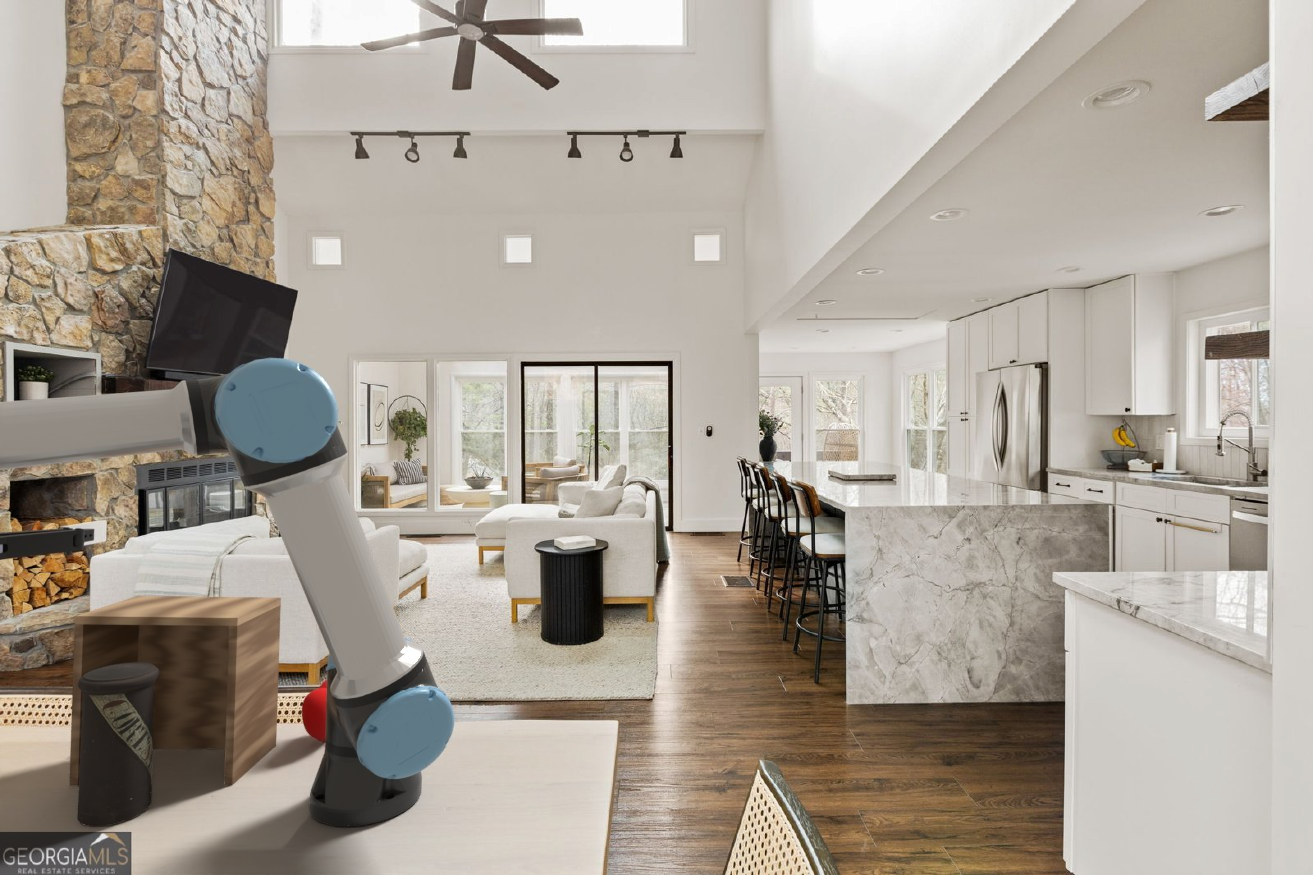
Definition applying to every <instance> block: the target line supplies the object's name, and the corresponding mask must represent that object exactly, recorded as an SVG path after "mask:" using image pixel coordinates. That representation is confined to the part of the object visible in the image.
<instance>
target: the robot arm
mask: <svg viewBox="0 0 1313 875" xmlns="http://www.w3.org/2000/svg"><path fill="white" fill-rule="evenodd" d="M338 409H339V408H338V404H337V399H336V397H335V394H334V392H333V389H332V388H331V386H330V384H329V383H328V382H327V380H326V379H324V377H323V376H322V375H320V374H319V373H318V372H317V371H316V370H314V369H312V368H311V367H309V366H307V365H306V364H304V363H301V362H298V361H295V360H290V359H287V358H283V357H278V358H277V357H267V358H260V359H253V360H252V361H249V362H247V363H243V364H241V365H238V366H237V367H235V368H234V369H232V371H231V372H229V373H226V374H223V375H219V376H214V377H208V378H202V379H201V378H200V379H185V380H181V381H180V382H179V383H177V385H176V386H174V388H171V389H160V390H147V391H146V390H144V391H134V392H133V391H132V392H131V391H130V392H122V393H121V392H120V393H117V392H116V393H107V394H92V395H90V394H89V395H77V396H65V397H64V396H63V397H50V398H38V399H37V398H36V399H24V400H8V401H0V471H2V470H11V469H19V468H21V469H22V468H29V467H30V468H31V467H38V466H46V465H54V464H65V463H72V462H82V461H93V460H99V459H109V458H115V457H116V458H119V457H127V456H135V455H145V454H152V453H153V454H154V453H161V452H170V451H171V452H172V451H181V450H182V451H185V452H187V453H189V454H190V455H192V456H193V457H197V456H203V455H204V456H206V455H215V454H230V456H231V459H232V462H233V464H234V465H235V467H236V471H237V473H238V475H239V477H240V480H241V483H242V485H243V486H244V487H243V488H244V489H245V490H247V491H250V492H253V493H256V494H258V495H260V496H262V497H263V498H265V500H266V503H267V506H268V509H269V510H270V512H271V515H272V517H273V520H274V523H275V526H276V528H277V530H278V532H279V534H280V537H281V539H282V543H283V544H284V547H285V549H286V551H287V555H288V556H289V559H290V561H291V564H292V566H293V569H294V571H295V573H296V575H297V578H298V580H299V582H300V585H301V588H302V590H303V592H304V594H305V597H306V599H307V603H308V604H309V607H310V609H311V612H312V614H313V616H314V619H315V621H316V623H317V626H318V628H319V632H320V633H321V636H322V638H323V640H324V644H325V645H326V648H327V650H328V652H329V653H328V655H327V656H328V658H327V664H326V665H327V666H326V667H325V672H326V680H327V697H326V732H325V741H324V754H323V755H322V758H321V761H320V764H319V767H318V769H317V773H316V775H315V778H314V779H313V780H314V781H313V782H312V785H311V789H310V792H309V793H310V794H309V814H310V815H311V816H312V818H313V819H314V820H316V821H318V822H319V823H322V824H325V825H329V826H335V827H359V826H360V827H361V826H368V825H372V824H376V823H380V822H383V821H386V820H388V819H389V820H390V819H392V818H394V817H396V816H398V815H400V814H402V813H403V812H406V811H407V810H408V809H410V808H411V807H412V806H413V805H414V804H416V803H417V802H418V800H419V799H420V797H421V795H422V791H423V790H422V788H423V787H422V786H423V784H422V783H423V775H422V772H423V770H425V769H427V768H428V767H429V766H430V765H432V764H433V763H434V762H435V761H437V759H438V758H439V757H440V756H441V754H442V753H443V752H444V751H445V749H446V748H447V744H448V743H449V740H450V739H451V737H452V735H453V732H454V728H455V721H456V720H455V711H454V708H453V705H452V703H451V700H450V697H449V696H447V694H446V692H444V691H443V690H442V689H441V688H439V686H438V685H437V682H436V680H435V677H434V675H433V671H432V669H431V667H430V664H429V662H428V659H427V657H426V654H425V652H424V649H423V647H422V646H421V644H419V643H416V642H413V640H411V639H410V638H408V637H405V635H404V633H403V629H402V627H401V624H400V621H399V618H398V616H397V614H396V611H395V609H394V607H393V604H392V601H391V599H390V596H389V594H388V591H387V588H386V586H385V583H384V580H383V578H382V576H381V573H380V570H379V568H378V566H377V562H376V560H375V557H374V554H373V553H372V549H371V547H370V544H369V541H368V539H367V537H366V535H365V532H364V529H363V526H362V523H361V521H360V518H359V516H358V514H357V510H356V508H355V506H354V502H353V501H352V498H351V495H350V493H349V490H348V488H347V485H346V482H345V480H344V477H343V474H342V467H343V465H344V464H345V462H346V460H347V458H348V456H349V453H348V450H347V447H346V445H345V442H344V439H343V437H342V434H341V432H340V429H339V426H338V420H339V419H338V418H339V417H338V416H339V415H338V414H339V413H338V412H339V410H338ZM107 524H108V520H104V519H102V520H101V519H100V520H94V521H88V522H82V523H81V522H80V523H75V524H68V525H61V526H59V528H51V529H50V528H49V529H34V530H20V531H18V530H17V531H5V532H3V531H1V532H0V561H1V560H2V561H3V560H8V559H9V560H10V559H16V558H26V557H34V556H35V557H36V556H42V555H43V556H44V555H51V554H60V553H63V554H64V556H72V555H73V552H80V551H83V550H85V546H88V545H89V546H90V545H93V544H99V543H104V542H107V531H108V530H107V529H108V528H107V526H108V525H107Z"/></svg>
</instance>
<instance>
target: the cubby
mask: <svg viewBox="0 0 1313 875" xmlns="http://www.w3.org/2000/svg"><path fill="white" fill-rule="evenodd" d="M281 601H282V597H261V596H260V597H256V596H253V597H251V596H249V597H247V596H245V597H244V596H182V595H181V596H176V595H175V596H174V595H173V596H172V595H170V596H169V595H168V596H167V595H165V596H164V595H136V596H133V597H130V598H127V599H123V600H121V601H118V602H114V603H111V604H108V605H105V606H102V607H100V608H99V607H98V608H97V609H93V610H89V611H86V612H83V613H81V614H80V613H79V614H78V615H75V616H74V633H73V634H74V638H73V665H72V691H71V692H72V697H71V720H70V721H71V722H70V723H71V725H70V726H71V729H70V754H69V755H70V756H69V783H68V784H69V786H70V787H71V786H72V787H74V786H75V787H76V786H77V787H79V774H80V755H81V732H82V710H83V693H82V692H81V690H80V689H79V688H78V681H79V679H80V678H81V677H82V676H84V675H85V674H86V673H88V672H90V671H92V670H95V669H98V668H102V667H106V666H110V665H115V664H122V663H132V662H145V663H150V664H152V665H154V666H156V667H157V668H158V669H159V676H158V678H157V679H156V681H155V682H154V683H153V684H154V686H153V740H152V746H153V749H152V750H224V753H225V754H224V772H223V776H224V778H223V780H224V781H223V785H224V786H233V785H235V783H236V782H238V781H239V780H240V779H241V778H242V777H244V775H246V774H247V773H248V772H249V771H250V770H251V769H252V768H253V767H254V766H256V765H257V764H258V763H259V762H260V761H261V760H262V759H264V758H265V756H266V755H267V754H269V752H271V751H273V749H275V747H277V731H278V728H277V727H278V701H279V700H278V699H279V698H278V696H279V694H278V693H279V671H280V670H279V667H280V665H279V664H280V636H281V635H280V634H281V633H280V632H281V610H282V609H281V607H282V606H281V603H282V602H281Z"/></svg>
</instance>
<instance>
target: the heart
mask: <svg viewBox="0 0 1313 875" xmlns="http://www.w3.org/2000/svg"><path fill="white" fill-rule="evenodd" d="M326 697H327V679H325V680H324V681H323V682H322V683H321V684H320V685H319V686H318V688H316V689H313V690H312V691H310V692H309V693H308V694H307V695H306V696H305V697H304V699H303V702H302V704H301V705H302V706H301V718H302V724H303V727H304V730H305V732H306V733H307V734H308V735H309V736H310V737H311V738H313V739H314V740H317V741H320V742H325V732H326Z"/></svg>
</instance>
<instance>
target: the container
mask: <svg viewBox="0 0 1313 875" xmlns="http://www.w3.org/2000/svg"><path fill="white" fill-rule="evenodd" d="M158 676H159V669H158V668H157V667H156V666H154V665H152V664H150V663H145V662H132V663H122V664H115V665H110V666H106V667H102V668H98V669H95V670H92V671H90V672H88V673H86V674H85V675H84V676H82V677H81V678H80V679H79V681H78V688H79V689H80V690H81V692H82V693H83V710H82V732H81V755H80V774H79V785H78V792H77V793H78V794H77V808H76V810H77V815H76V817H77V818H76V819H77V821H79V822H80V823H79V822H78V823H79V824H81V825H83V824H85V825H84V826H86V825H89V826H88V827H105V826H111V825H116V824H120V823H123V822H126V821H130V820H131V819H134V818H136V817H138V816H139V815H141V814H143V813H144V812H146V811H147V810H148V808H150V806H151V805H152V794H153V750H154V749H153V746H152V740H153V686H154V684H153V683H154V682H155V681H156V679H157V678H158Z"/></svg>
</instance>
